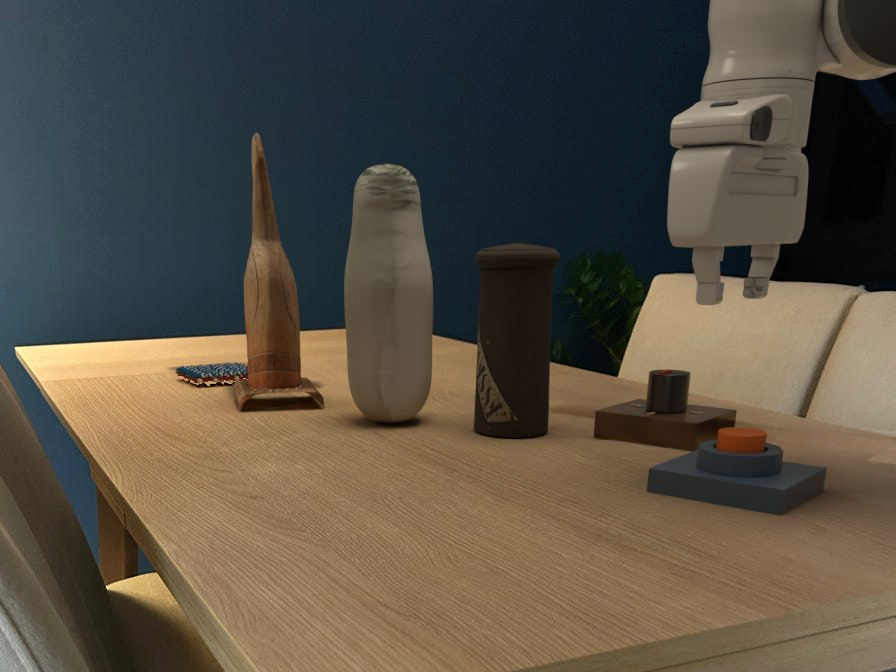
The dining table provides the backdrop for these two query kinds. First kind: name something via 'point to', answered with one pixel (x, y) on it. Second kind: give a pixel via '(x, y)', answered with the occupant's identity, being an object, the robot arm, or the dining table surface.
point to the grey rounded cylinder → (388, 297)
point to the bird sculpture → (270, 302)
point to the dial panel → (662, 425)
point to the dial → (668, 391)
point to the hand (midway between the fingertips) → (732, 301)
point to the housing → (738, 479)
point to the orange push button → (741, 440)
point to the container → (514, 340)
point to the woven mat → (214, 372)
